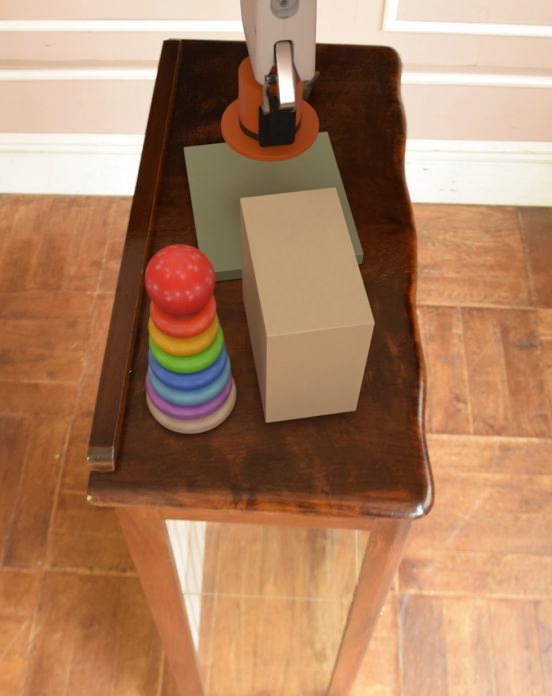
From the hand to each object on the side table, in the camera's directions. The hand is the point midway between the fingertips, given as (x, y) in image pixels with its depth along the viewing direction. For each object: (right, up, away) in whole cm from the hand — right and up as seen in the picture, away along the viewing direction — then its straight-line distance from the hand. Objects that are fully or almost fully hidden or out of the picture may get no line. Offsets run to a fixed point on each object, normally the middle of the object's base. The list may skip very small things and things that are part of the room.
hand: (270, 117), depth 71 cm
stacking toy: (-7, -26, -1) cm, 27 cm away
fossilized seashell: (+1, +8, +20) cm, 21 cm away
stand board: (0, -6, +11) cm, 12 cm away
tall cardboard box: (+2, -22, +1) cm, 22 cm away
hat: (0, -1, +1) cm, 1 cm away
